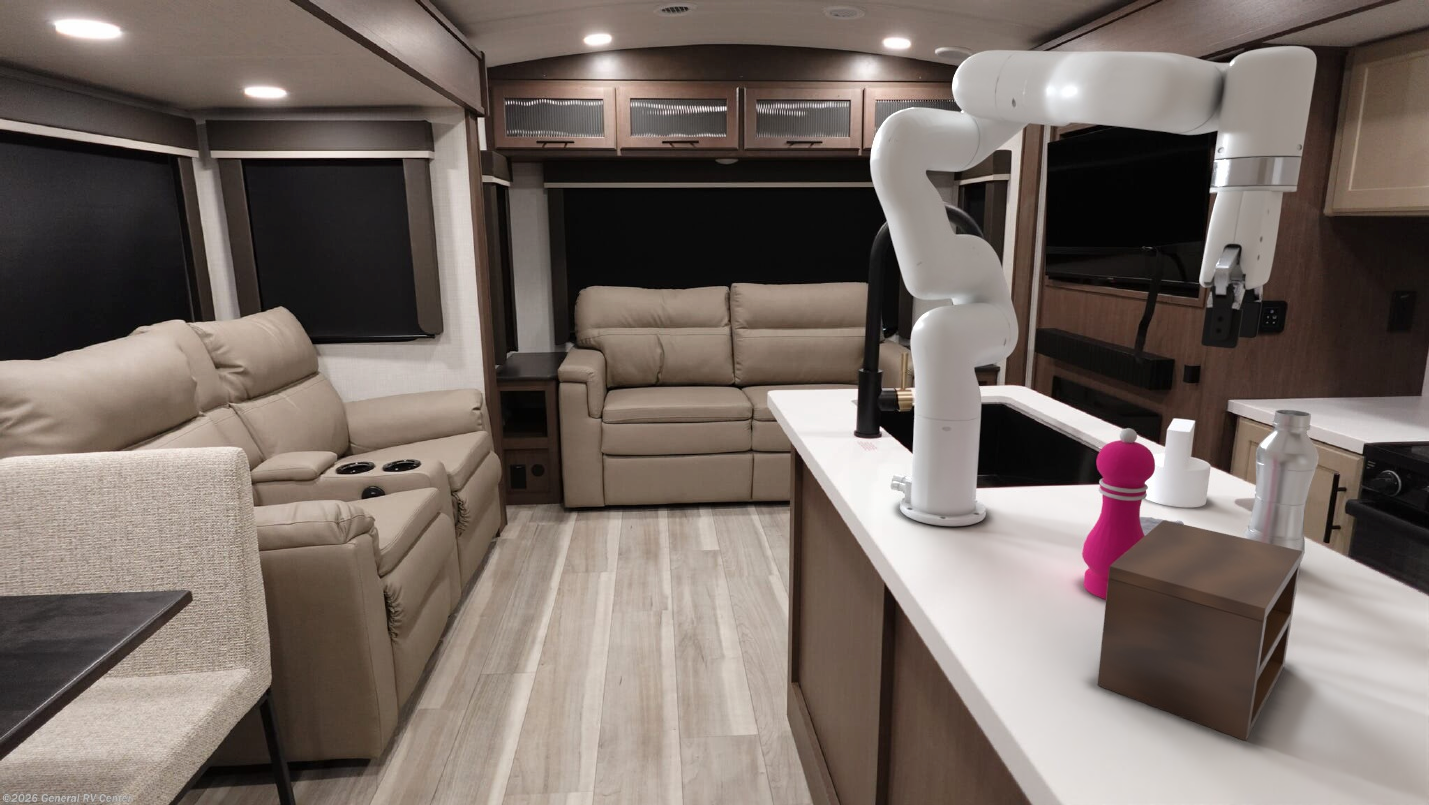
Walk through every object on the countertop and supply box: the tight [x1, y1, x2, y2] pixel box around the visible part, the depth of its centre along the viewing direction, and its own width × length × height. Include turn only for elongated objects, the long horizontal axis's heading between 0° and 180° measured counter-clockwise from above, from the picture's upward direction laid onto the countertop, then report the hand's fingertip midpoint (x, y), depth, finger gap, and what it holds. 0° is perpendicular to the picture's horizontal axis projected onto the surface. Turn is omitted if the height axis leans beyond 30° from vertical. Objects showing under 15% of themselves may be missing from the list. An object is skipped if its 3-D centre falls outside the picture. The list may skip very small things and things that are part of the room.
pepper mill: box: [1081, 427, 1155, 600], centre depth 91 cm, size 7×7×20 cm
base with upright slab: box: [1145, 418, 1212, 509], centre depth 124 cm, size 9×9×12 cm
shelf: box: [1096, 519, 1302, 741], centre depth 74 cm, size 12×16×12 cm
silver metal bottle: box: [1243, 409, 1320, 562], centre depth 98 cm, size 6×7×20 cm
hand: (1229, 341), depth 85 cm, fingers open, 9 cm apart
